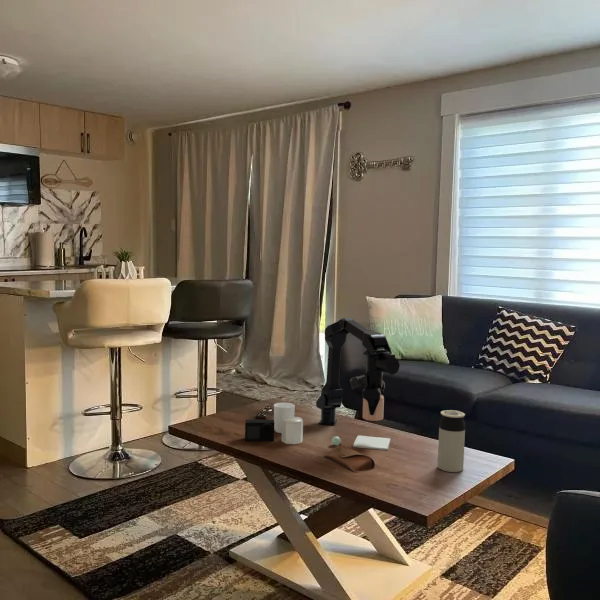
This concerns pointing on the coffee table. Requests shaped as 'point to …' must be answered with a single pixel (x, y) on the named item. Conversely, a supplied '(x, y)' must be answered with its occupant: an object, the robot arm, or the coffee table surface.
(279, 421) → the white cup
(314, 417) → the coffee table surface
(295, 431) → the off-white cup
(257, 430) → the digital camera
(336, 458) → the sunglasses case
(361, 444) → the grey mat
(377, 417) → the terracotta cup
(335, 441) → the pale green marble
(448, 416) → the travel mug
